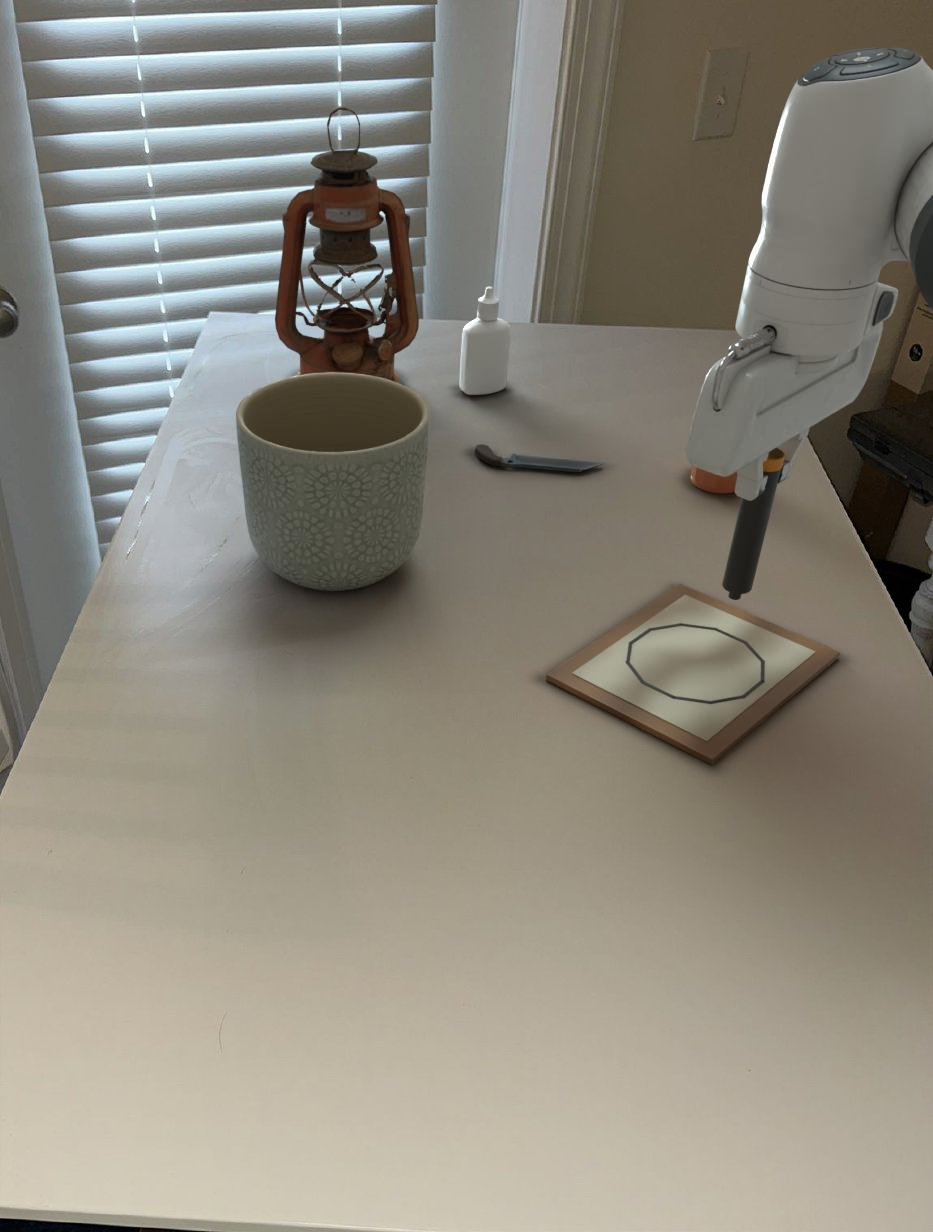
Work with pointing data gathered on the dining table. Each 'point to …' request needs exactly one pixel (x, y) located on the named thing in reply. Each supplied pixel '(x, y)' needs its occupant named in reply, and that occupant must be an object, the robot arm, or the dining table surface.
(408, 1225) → the dining table surface
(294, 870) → the dining table surface
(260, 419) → the planter
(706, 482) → the pen cup
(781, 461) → the marker
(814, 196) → the robot arm
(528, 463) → the knife
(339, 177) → the lantern
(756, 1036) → the dining table surface
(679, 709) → the sketch board
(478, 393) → the eye dropper bottle
